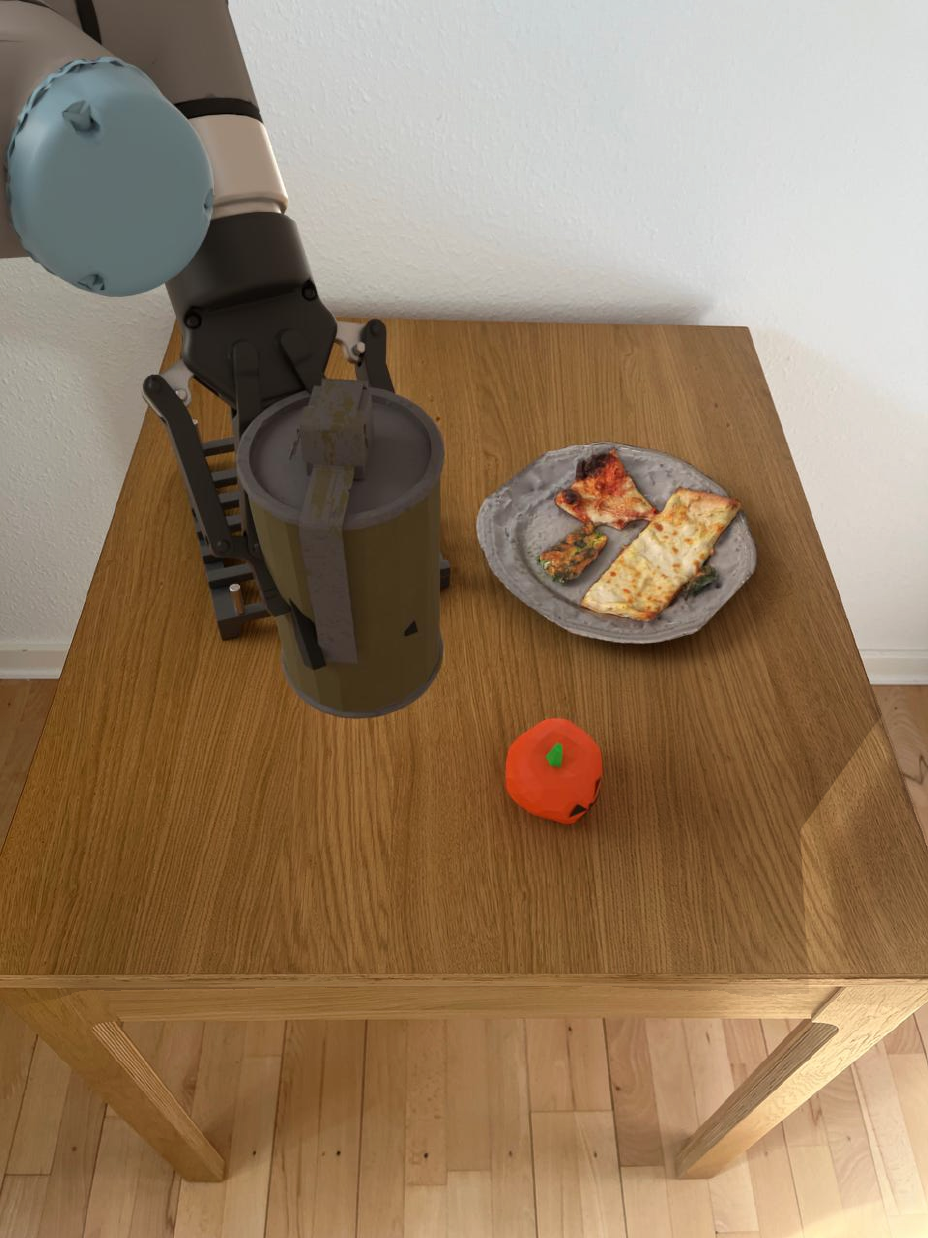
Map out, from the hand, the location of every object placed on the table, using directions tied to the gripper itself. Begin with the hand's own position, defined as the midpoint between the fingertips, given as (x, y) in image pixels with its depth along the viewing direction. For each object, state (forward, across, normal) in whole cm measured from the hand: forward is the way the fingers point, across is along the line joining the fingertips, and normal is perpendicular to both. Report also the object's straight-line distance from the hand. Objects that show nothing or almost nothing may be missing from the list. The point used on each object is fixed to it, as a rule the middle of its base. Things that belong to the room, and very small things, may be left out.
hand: (360, 647), depth 53 cm
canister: (+2, -2, -7) cm, 8 cm away
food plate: (+4, -30, -25) cm, 40 cm away
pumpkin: (+17, -13, -12) cm, 24 cm away
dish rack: (-6, -6, -35) cm, 36 cm away
